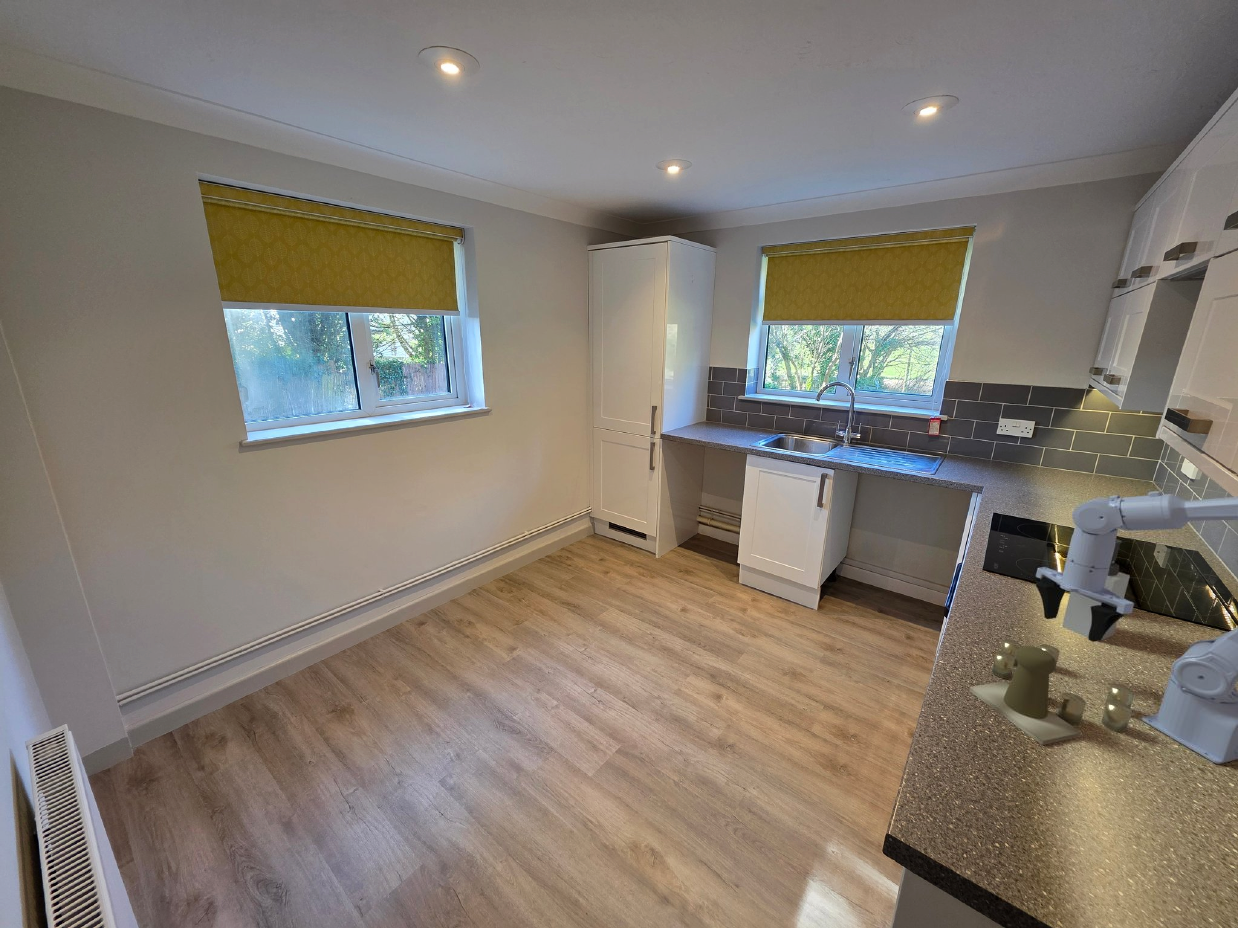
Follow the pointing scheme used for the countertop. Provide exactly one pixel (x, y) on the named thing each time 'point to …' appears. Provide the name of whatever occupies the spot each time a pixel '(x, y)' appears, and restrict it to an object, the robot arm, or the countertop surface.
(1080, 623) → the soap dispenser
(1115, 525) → the robot arm
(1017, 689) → the cork
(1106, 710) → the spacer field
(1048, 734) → the pale grey metal board
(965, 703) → the countertop surface
